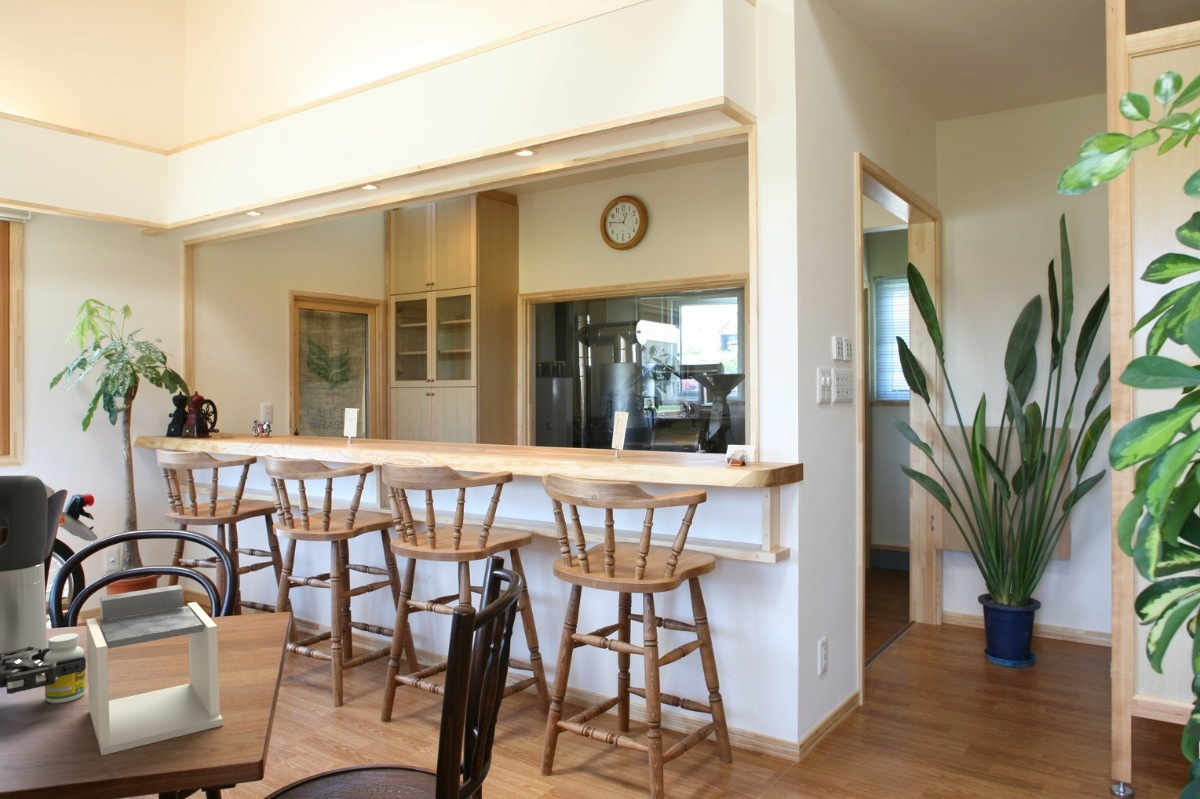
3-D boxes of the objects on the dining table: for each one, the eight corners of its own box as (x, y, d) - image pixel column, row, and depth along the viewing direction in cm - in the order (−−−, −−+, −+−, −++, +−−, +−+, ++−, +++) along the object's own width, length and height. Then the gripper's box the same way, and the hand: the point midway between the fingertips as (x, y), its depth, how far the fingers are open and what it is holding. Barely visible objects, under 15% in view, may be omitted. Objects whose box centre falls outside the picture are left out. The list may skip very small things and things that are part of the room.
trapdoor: (97, 622, 125) (96, 597, 125) (183, 608, 132) (182, 584, 132) (108, 649, 112) (107, 621, 112) (203, 632, 119) (202, 605, 119)
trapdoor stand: (89, 711, 123) (86, 619, 123) (198, 687, 132) (195, 601, 132) (101, 755, 109) (98, 651, 108) (222, 725, 117) (220, 629, 117)
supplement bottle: (50, 693, 130) (48, 634, 130) (89, 688, 132) (87, 630, 132) (40, 706, 125) (38, 644, 125) (81, 700, 127) (78, 640, 127)
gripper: (-44, 672, 113) (89, 642, 125) (-61, 649, 123) (64, 624, 135) (-42, 725, 113) (91, 691, 125) (-59, 698, 123) (66, 668, 135)
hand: (77, 656), depth 130 cm, fingers open, 8 cm apart
